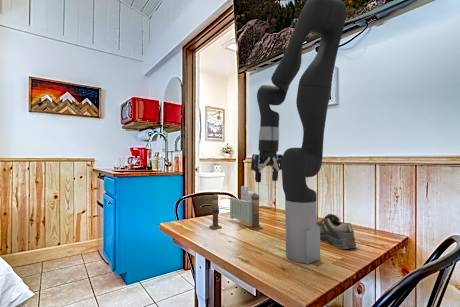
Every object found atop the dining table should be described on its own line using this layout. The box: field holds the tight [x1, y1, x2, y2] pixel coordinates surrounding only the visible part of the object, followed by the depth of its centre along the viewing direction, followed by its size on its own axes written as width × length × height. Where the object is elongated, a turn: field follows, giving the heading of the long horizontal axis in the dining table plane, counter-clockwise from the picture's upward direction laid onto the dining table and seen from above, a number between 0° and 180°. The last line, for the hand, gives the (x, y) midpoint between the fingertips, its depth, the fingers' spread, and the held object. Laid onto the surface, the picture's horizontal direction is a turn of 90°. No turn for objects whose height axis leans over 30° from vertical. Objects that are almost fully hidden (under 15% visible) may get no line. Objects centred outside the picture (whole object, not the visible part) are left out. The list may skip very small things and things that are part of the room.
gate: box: [229, 196, 252, 226], centre depth 117 cm, size 15×2×10 cm, turn 35°
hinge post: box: [248, 192, 263, 231], centre depth 108 cm, size 4×4×15 cm
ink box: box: [240, 185, 257, 201], centre depth 139 cm, size 9×5×15 cm, turn 25°
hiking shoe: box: [317, 213, 357, 250], centre depth 92 cm, size 9×21×12 cm, turn 18°
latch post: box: [208, 193, 222, 231], centre depth 110 cm, size 4×4×15 cm
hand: (266, 181), depth 97 cm, fingers open, 8 cm apart
